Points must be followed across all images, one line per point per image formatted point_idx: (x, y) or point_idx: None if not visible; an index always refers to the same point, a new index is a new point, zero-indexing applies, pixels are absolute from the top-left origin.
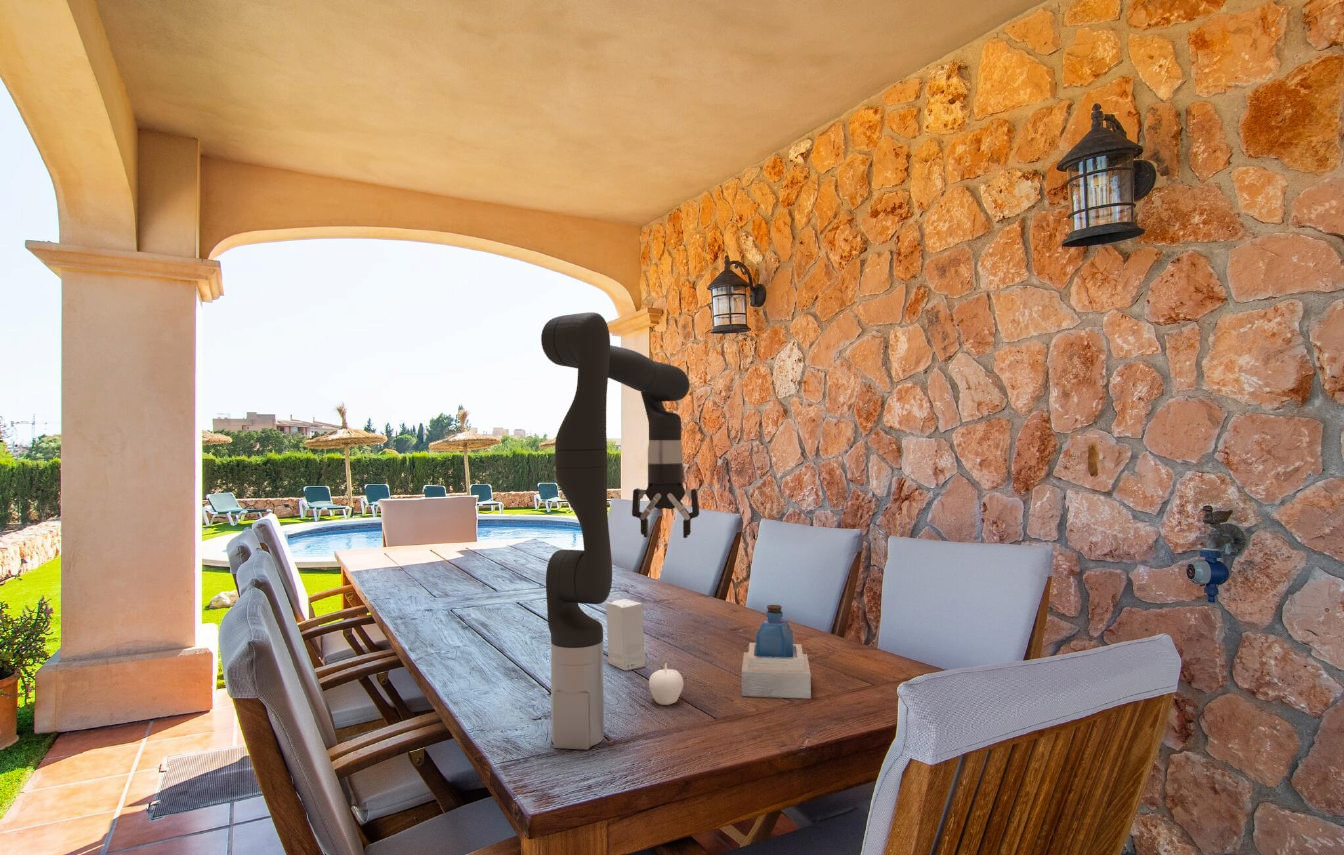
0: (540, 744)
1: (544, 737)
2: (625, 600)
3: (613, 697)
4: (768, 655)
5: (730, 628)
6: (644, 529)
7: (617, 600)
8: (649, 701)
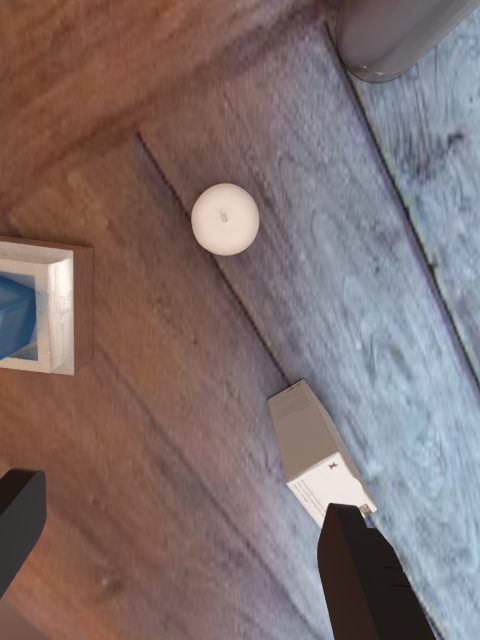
0: None
1: None
2: None
3: (320, 245)
4: (5, 287)
5: (122, 591)
6: (371, 555)
7: None
8: None
